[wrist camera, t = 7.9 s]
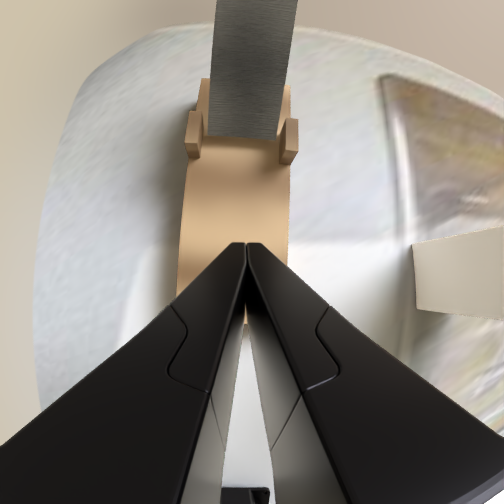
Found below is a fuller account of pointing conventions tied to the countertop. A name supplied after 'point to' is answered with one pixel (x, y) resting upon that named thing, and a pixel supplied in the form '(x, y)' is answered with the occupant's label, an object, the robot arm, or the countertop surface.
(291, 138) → the body
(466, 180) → the countertop surface
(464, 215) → the countertop surface
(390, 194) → the countertop surface
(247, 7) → the lever cap
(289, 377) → the robot arm
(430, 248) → the milk
